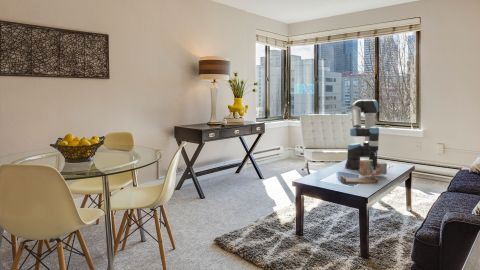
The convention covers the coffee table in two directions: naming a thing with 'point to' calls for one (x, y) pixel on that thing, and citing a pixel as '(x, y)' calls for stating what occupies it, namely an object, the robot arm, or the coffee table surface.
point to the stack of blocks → (367, 168)
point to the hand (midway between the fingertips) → (372, 172)
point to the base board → (360, 180)
